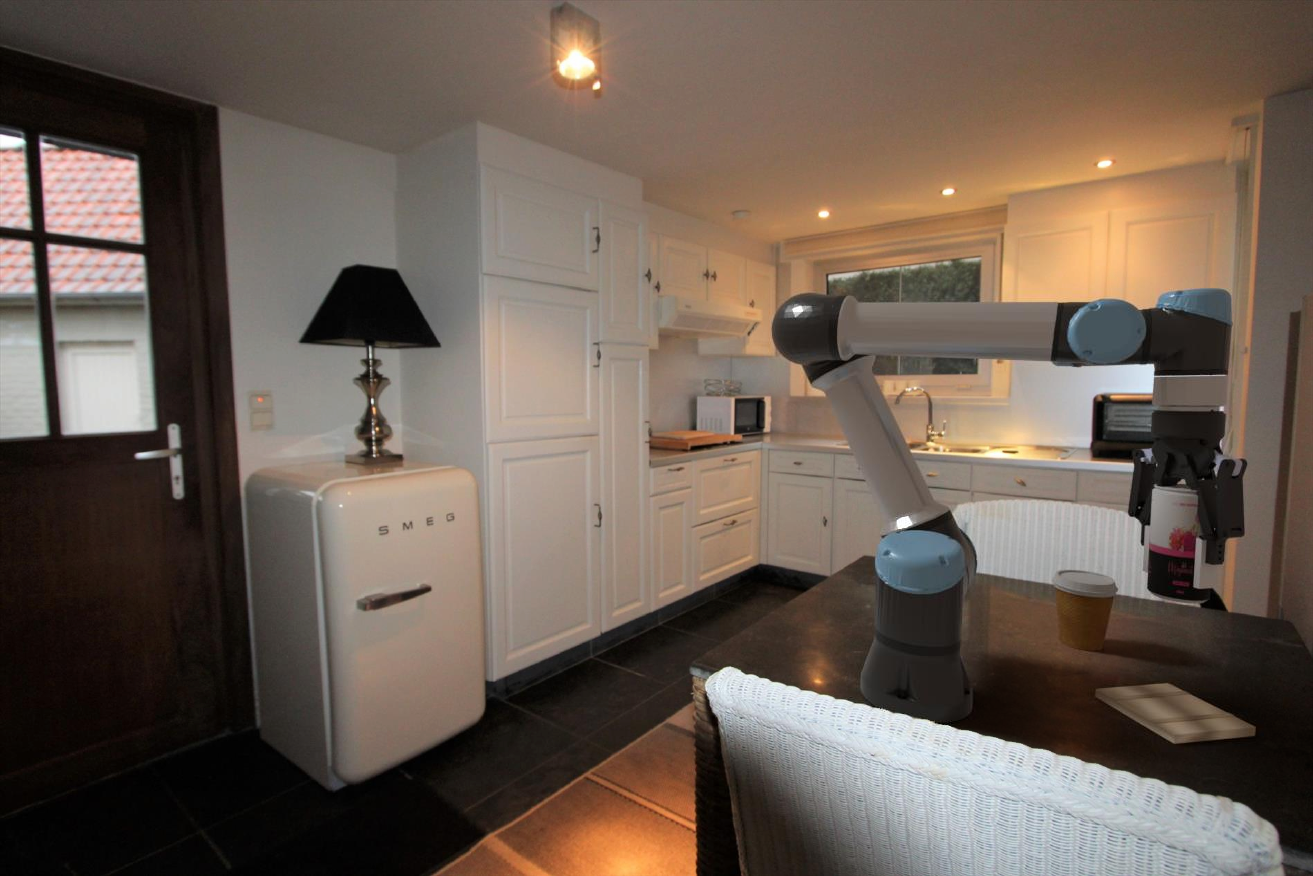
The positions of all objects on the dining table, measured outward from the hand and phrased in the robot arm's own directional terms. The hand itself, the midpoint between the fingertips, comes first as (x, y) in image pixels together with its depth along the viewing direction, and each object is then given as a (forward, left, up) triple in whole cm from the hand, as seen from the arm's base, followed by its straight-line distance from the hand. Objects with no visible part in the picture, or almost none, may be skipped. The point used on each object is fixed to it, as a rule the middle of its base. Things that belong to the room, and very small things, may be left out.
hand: (1178, 578), depth 84 cm
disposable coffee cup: (+7, +23, -19) cm, 31 cm away
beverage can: (0, 0, -3) cm, 3 cm away
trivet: (0, 0, -19) cm, 19 cm away
